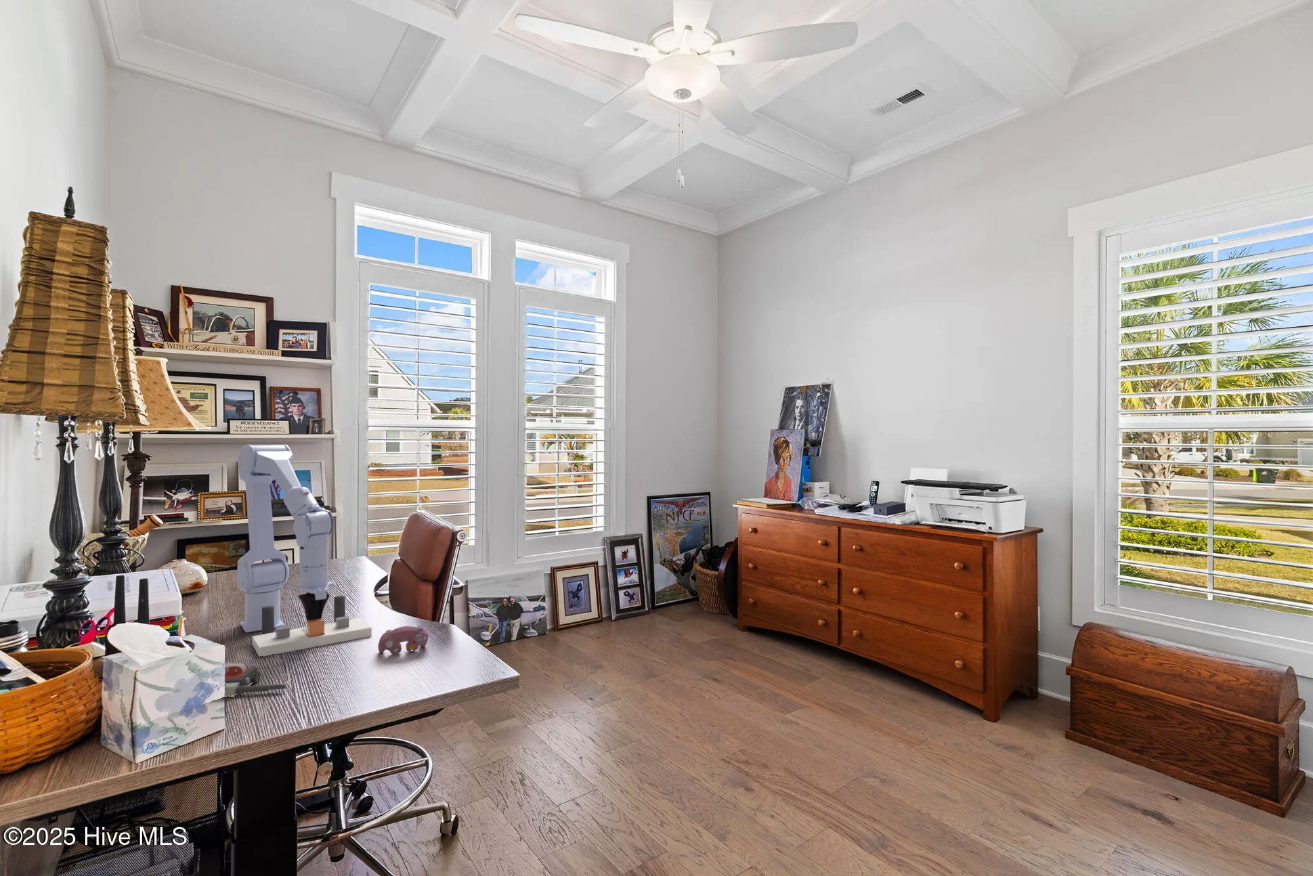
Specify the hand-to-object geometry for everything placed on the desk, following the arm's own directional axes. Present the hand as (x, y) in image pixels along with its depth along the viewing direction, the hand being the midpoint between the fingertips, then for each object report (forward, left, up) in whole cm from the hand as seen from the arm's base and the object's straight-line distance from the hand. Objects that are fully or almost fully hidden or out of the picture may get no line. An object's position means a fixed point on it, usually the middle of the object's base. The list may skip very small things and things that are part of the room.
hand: (313, 625), depth 141 cm
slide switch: (+2, 0, -1) cm, 3 cm away
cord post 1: (-10, -8, -3) cm, 13 cm away
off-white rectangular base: (-1, 0, -3) cm, 3 cm away
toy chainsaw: (+21, -17, -4) cm, 27 cm away
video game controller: (+20, +13, -4) cm, 24 cm away
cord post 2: (-10, +7, -3) cm, 13 cm away
